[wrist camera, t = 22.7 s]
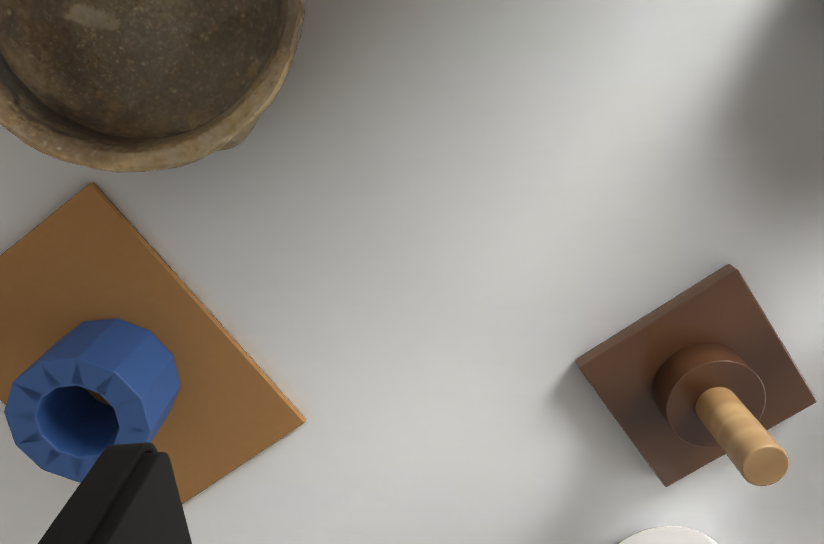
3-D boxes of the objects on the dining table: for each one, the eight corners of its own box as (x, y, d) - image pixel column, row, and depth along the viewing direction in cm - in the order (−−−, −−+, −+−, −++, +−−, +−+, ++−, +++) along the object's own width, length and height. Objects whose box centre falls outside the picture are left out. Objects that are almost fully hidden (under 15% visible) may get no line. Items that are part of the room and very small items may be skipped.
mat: (-77, 319, 35) (-82, 322, 35) (93, 181, 33) (89, 183, 33) (142, 527, 40) (139, 532, 39) (305, 419, 37) (304, 422, 37)
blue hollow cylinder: (27, 363, 36) (-24, 409, 32) (117, 295, 35) (76, 332, 30) (115, 449, 38) (77, 503, 33) (204, 387, 36) (177, 435, 32)
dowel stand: (574, 359, 36) (617, 446, 29) (729, 262, 35) (818, 328, 27) (659, 477, 39) (720, 586, 31) (808, 392, 37) (910, 486, 29)
